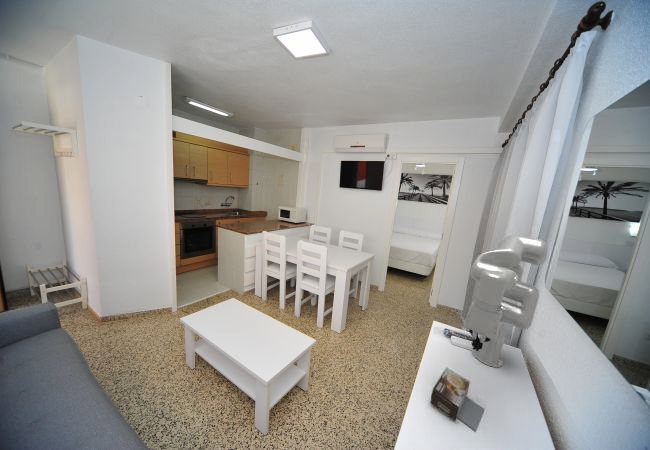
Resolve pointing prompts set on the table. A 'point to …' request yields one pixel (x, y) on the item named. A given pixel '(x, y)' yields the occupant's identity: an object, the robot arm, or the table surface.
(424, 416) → the table surface
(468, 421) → the mat
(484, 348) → the robot arm
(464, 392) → the coffee box
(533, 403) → the table surface
